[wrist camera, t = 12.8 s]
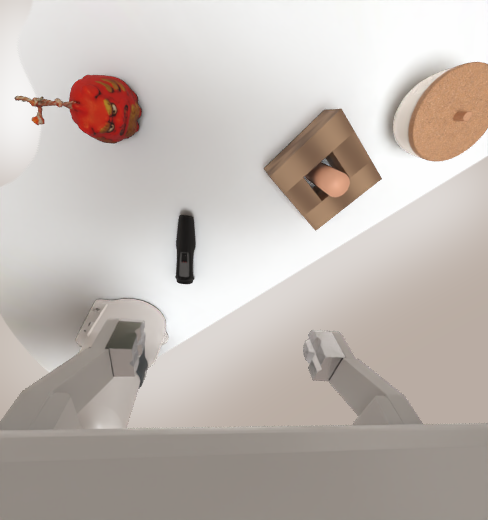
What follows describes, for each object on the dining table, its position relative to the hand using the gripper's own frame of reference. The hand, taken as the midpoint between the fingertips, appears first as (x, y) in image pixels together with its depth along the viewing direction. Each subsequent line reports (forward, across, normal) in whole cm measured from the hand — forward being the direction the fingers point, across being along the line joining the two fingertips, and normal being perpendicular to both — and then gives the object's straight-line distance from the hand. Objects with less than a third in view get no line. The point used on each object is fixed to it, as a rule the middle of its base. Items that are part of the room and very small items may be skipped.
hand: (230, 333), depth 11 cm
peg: (+32, -15, -4) cm, 36 cm away
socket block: (+32, -15, -4) cm, 36 cm away
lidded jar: (+32, -28, -14) cm, 45 cm away
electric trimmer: (+33, +6, +14) cm, 37 cm away
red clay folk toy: (+33, +16, -7) cm, 37 cm away
